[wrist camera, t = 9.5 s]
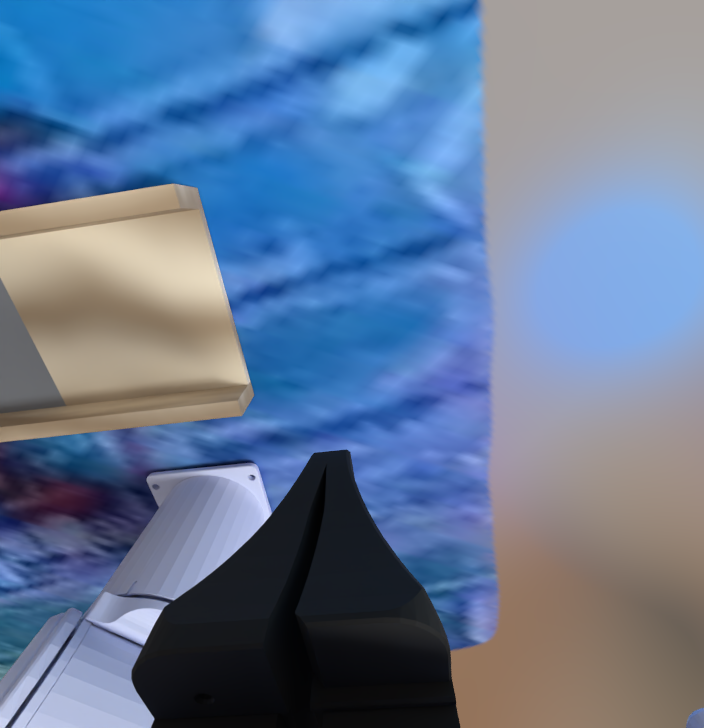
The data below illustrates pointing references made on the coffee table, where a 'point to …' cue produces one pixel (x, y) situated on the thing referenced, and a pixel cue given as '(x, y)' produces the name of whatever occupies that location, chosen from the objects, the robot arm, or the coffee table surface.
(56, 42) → the coffee table surface
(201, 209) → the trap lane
